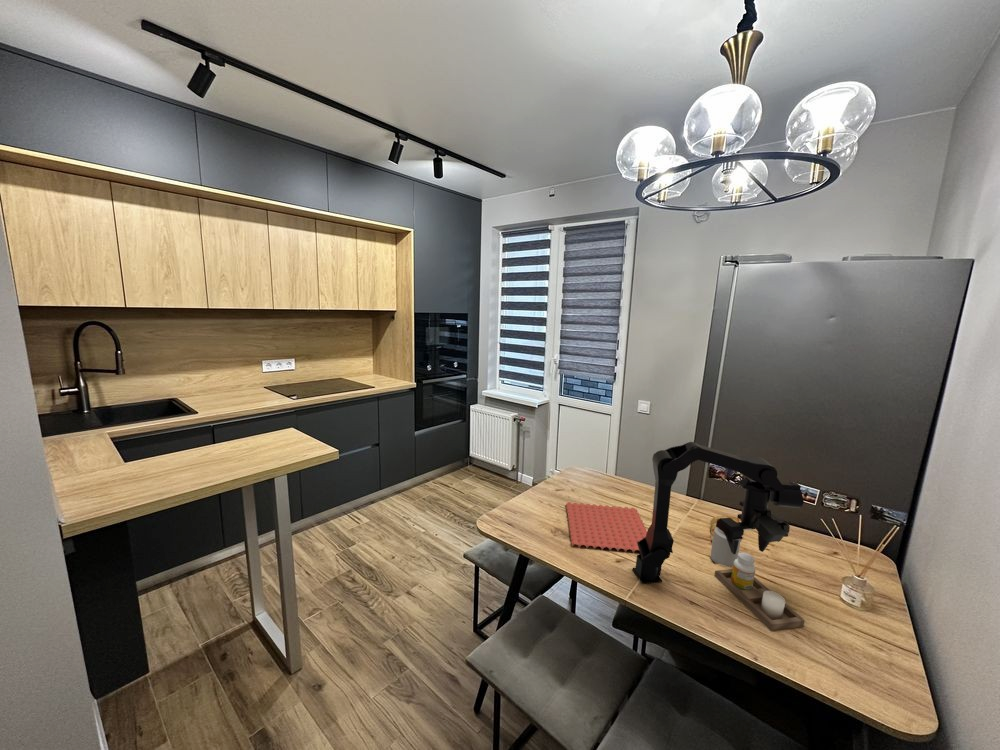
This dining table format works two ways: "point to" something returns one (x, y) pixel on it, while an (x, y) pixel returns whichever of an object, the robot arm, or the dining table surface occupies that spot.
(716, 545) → the can
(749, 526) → the robot arm
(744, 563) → the supplement bottle
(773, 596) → the white rounded cylinder
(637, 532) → the red studded mat
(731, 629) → the dining table surface
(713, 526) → the croissant
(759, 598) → the caddy
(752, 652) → the dining table surface
